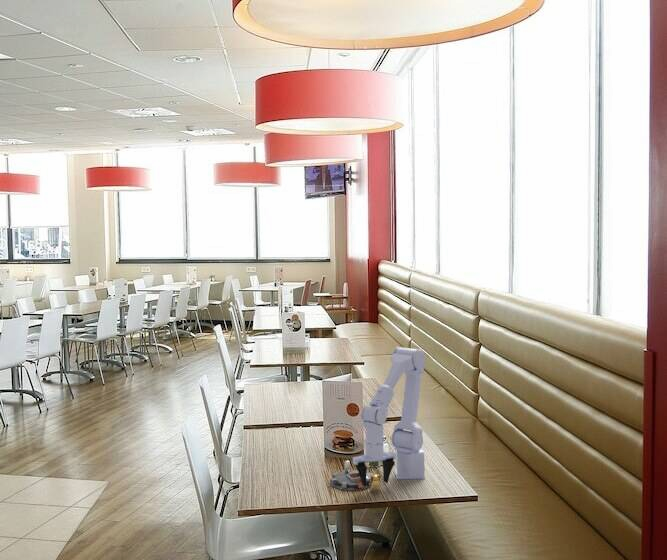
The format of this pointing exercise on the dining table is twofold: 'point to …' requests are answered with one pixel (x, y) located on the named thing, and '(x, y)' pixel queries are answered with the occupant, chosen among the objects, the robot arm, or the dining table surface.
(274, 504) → the dining table surface
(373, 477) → the roller
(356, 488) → the base flange
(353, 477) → the grey toothed wheel
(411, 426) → the robot arm
